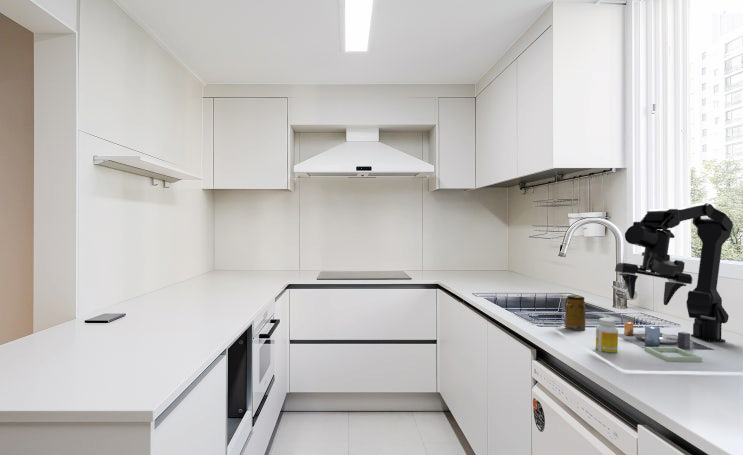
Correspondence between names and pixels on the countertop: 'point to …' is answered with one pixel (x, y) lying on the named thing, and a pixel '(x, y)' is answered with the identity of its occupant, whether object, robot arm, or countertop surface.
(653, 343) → the blue gray block
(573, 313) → the condiment
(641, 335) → the crank
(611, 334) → the supplement bottle
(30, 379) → the countertop surface
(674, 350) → the tray
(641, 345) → the crank base
